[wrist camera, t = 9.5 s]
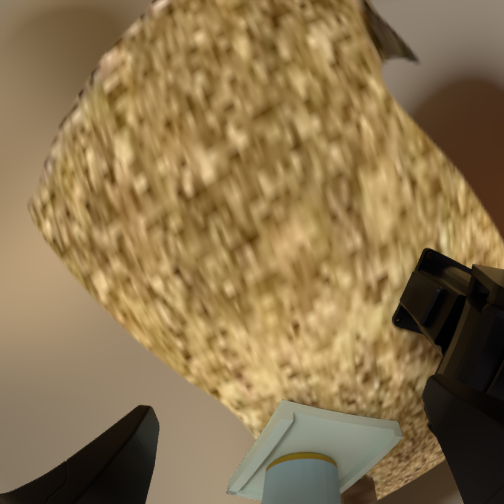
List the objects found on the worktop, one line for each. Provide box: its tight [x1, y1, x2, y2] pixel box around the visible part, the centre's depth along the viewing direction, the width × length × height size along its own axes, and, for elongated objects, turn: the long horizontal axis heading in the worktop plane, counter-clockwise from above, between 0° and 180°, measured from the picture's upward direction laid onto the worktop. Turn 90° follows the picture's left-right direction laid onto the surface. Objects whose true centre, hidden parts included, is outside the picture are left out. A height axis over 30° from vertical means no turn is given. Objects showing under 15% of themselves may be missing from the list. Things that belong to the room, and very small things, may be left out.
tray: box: [227, 399, 403, 501], centre depth 22 cm, size 12×16×4 cm
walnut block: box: [340, 478, 377, 504], centre depth 24 cm, size 4×4×4 cm
